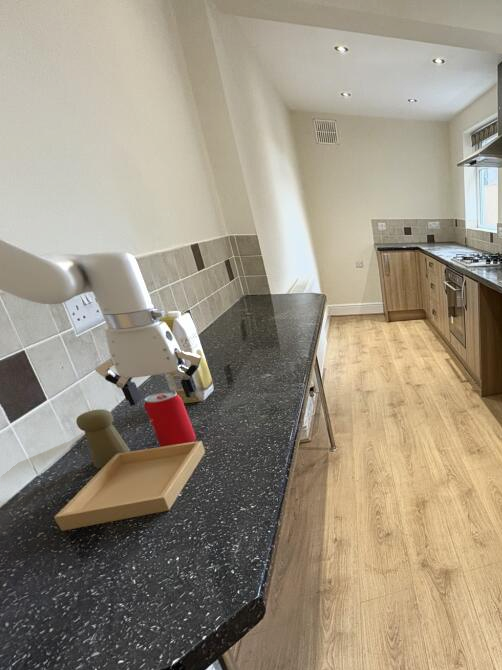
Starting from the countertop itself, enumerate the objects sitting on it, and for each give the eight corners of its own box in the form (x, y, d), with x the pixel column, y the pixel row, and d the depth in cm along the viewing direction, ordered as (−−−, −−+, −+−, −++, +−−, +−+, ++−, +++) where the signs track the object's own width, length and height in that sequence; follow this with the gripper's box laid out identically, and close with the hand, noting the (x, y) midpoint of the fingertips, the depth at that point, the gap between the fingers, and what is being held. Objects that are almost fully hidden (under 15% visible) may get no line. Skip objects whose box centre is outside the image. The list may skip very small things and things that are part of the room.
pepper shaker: (85, 465, 83) (61, 417, 79) (118, 449, 88) (97, 404, 84) (108, 469, 82) (85, 421, 77) (139, 453, 87) (120, 407, 83)
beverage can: (189, 435, 94) (171, 387, 89) (202, 442, 91) (185, 393, 86) (156, 447, 89) (136, 398, 84) (169, 455, 86) (149, 404, 81)
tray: (61, 531, 66) (53, 517, 65) (121, 465, 83) (116, 453, 82) (169, 510, 71) (163, 497, 69) (205, 451, 88) (201, 440, 86)
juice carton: (206, 402, 110) (176, 314, 100) (171, 406, 108) (138, 317, 98) (218, 389, 118) (192, 306, 109) (186, 392, 116) (157, 308, 106)
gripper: (191, 310, 85) (217, 385, 92) (87, 319, 80) (122, 398, 87) (178, 319, 78) (206, 399, 85) (63, 329, 73) (104, 413, 80)
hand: (164, 398), depth 86 cm, fingers open, 9 cm apart
